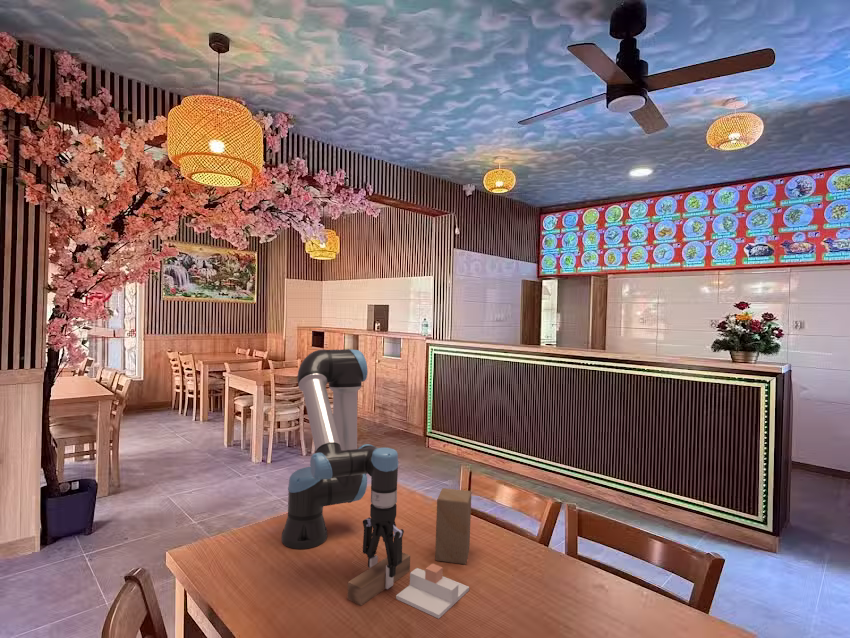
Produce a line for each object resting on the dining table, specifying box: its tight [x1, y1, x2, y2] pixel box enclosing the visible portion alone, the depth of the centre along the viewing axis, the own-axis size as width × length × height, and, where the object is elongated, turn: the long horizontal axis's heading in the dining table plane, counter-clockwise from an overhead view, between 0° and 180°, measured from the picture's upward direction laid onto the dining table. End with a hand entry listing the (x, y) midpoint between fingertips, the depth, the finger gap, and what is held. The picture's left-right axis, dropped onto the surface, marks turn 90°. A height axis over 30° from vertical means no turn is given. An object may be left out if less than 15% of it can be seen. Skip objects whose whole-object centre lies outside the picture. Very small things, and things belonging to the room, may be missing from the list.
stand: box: [395, 562, 470, 619], centre depth 134 cm, size 14×16×8 cm
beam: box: [347, 551, 411, 607], centre depth 138 cm, size 5×22×5 cm, turn 146°
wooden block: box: [434, 487, 472, 565], centre depth 156 cm, size 10×10×20 cm
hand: (381, 582), depth 139 cm, fingers open, 5 cm apart
